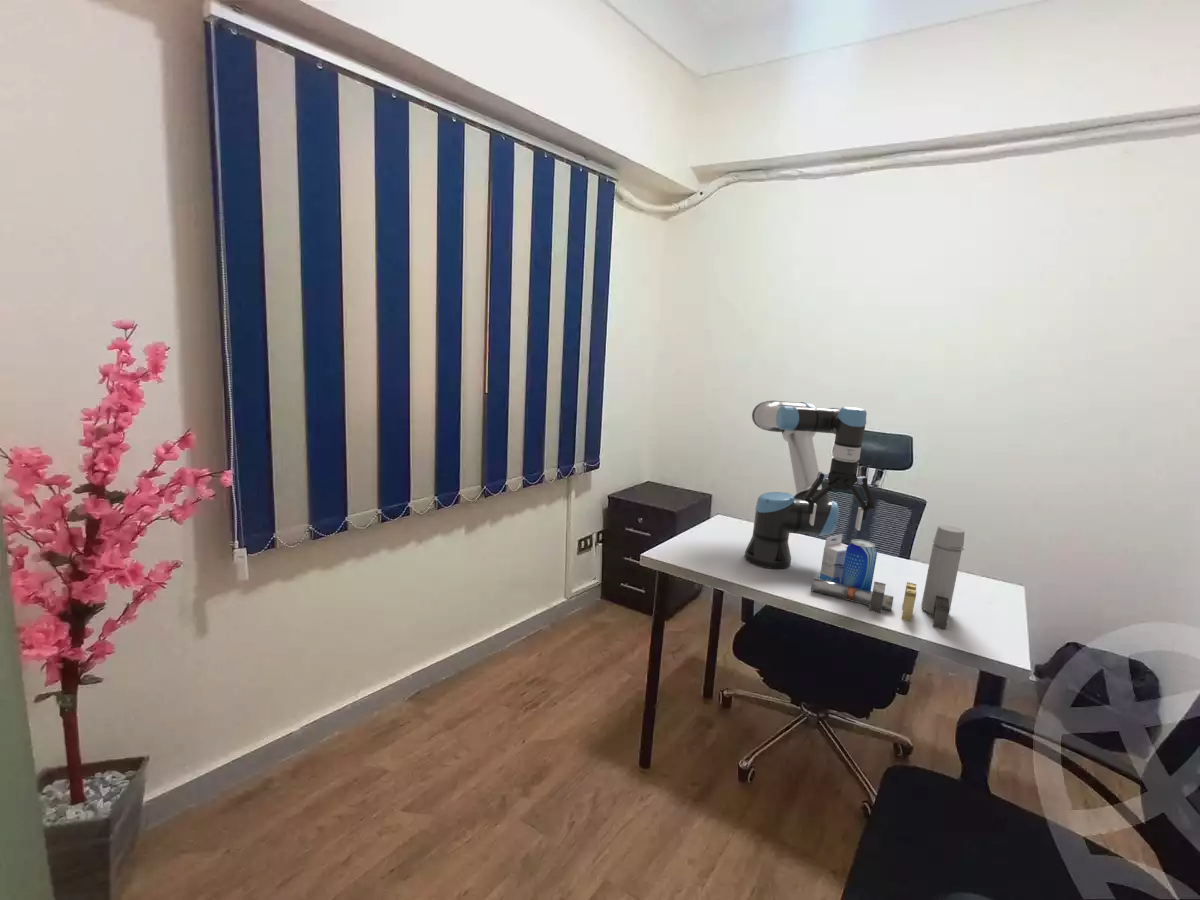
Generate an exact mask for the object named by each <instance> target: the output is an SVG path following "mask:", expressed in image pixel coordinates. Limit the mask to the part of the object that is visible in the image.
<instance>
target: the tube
mask: <svg viewBox="0 0 1200 900" xmlns="http://www.w3.org/2000/svg"><path fill="white" fill-rule="evenodd" d="M810 591H811V592H815V593H819V594H823V595H828V596H831V597H836V598H838V599H839V598H840V599H843V600H847V601H852V602H854V603H855V602H856V603H859V604H863V605H868V606H870V603H871V597H872V592H873V590H871V591H868V590H864V589H860V588H856V587H851V586H847V585H843V584H839V583H835V582H830V581H826V580H822V579H820V578H818V577H813V578H812V580H811V585H810ZM893 604H894V596H892V595H888V594H885V593H884V598H883V604H882V609H884V610H887V611H892V608H893Z"/></svg>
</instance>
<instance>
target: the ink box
mask: <svg viewBox="0 0 1200 900" xmlns="http://www.w3.org/2000/svg"><path fill="white" fill-rule="evenodd" d="M842 540H843V534H842V533H840V534H836V535H831V536H830V535H829V536H827V537H826V538H825V543H824V544H825V545H824V548H823V555H822V559H821V566H820V567H821V568H820V573H819V579H822V580H826V581H830V582H835V583H839V584H841V581H842V574H843V568H844V562H845V555H846V549H847V546H848V544H845V543H842Z"/></svg>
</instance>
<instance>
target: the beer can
mask: <svg viewBox="0 0 1200 900" xmlns="http://www.w3.org/2000/svg"><path fill="white" fill-rule="evenodd" d="M875 546H876V544H875V543H873V542H871V541H869V540H866V539H865V540H864V539H860V538H859V539H857V538H855V539H851V540H850V543H849V544H847V549H846V555H845V562H844V568H843V574H842V581H841V584H843V585H847V586H851V587H856V588H860V589H864V590H868V591H872V586H873V582H874V581H873V580H874V574H875V568H876V562H877V558H878V557H877V556H878V552H877V548H876V547H875Z"/></svg>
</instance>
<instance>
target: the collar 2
mask: <svg viewBox="0 0 1200 900" xmlns="http://www.w3.org/2000/svg"><path fill="white" fill-rule="evenodd" d="M949 610H950V611H951V607H950V608H949V600H948V598H944V597H940V596H936V599H935V604H934V610H933V614H931V615H932V618H933V622H932V627H933V628H936V629H941V630H945V631H946V628H947V626H948V625H947V623H948V620H949V614H950V612H949Z"/></svg>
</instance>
